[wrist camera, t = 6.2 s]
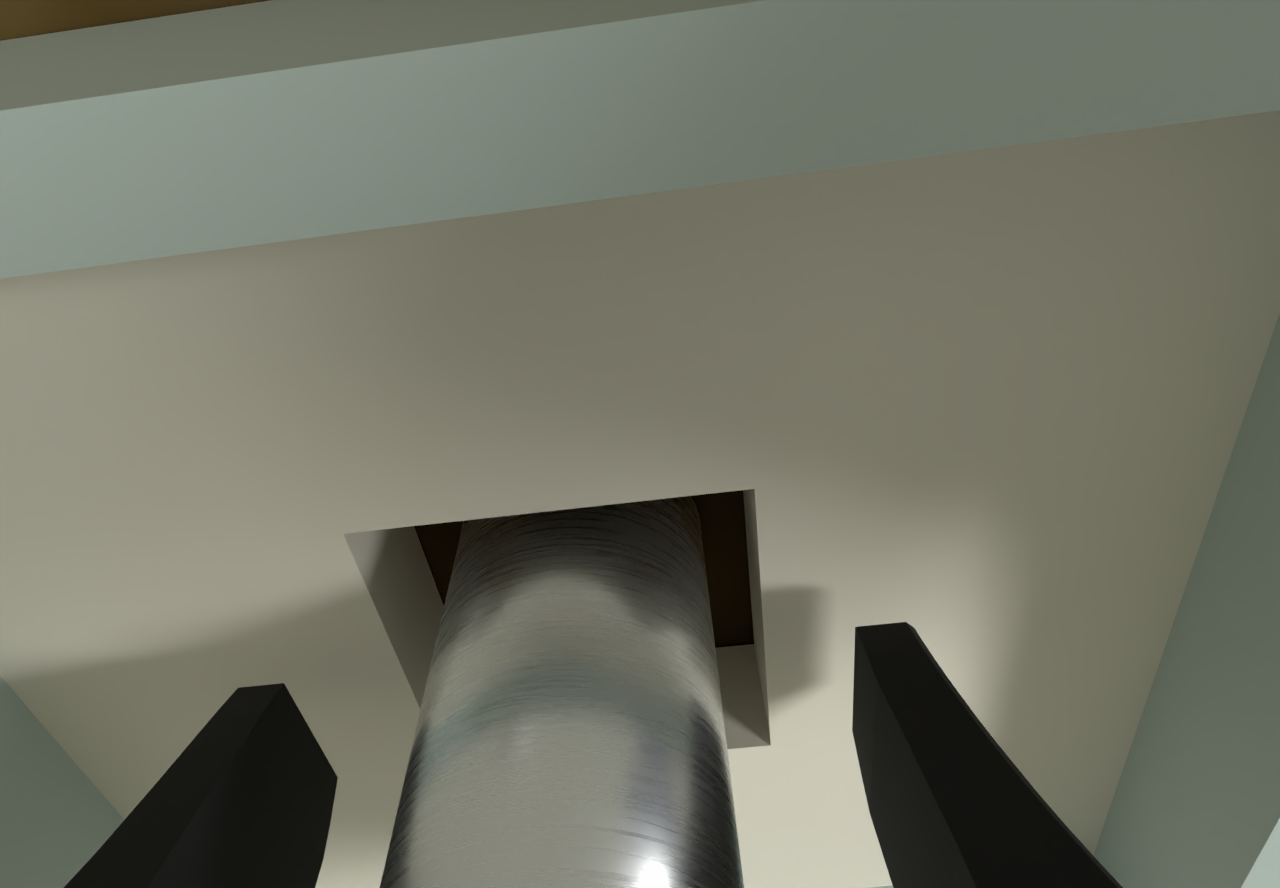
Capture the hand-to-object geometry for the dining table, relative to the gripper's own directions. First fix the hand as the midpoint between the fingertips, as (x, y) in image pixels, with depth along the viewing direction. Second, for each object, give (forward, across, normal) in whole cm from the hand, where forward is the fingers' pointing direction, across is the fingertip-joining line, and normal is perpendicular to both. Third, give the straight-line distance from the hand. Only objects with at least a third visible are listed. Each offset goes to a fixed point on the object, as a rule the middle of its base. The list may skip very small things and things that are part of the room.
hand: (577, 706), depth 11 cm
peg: (+3, 0, 0) cm, 3 cm away
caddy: (+3, 0, 0) cm, 3 cm away
